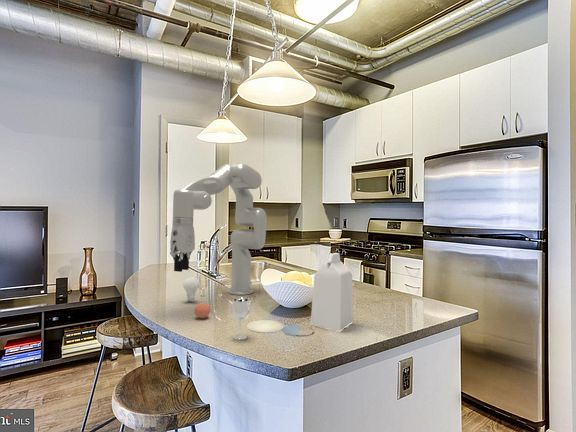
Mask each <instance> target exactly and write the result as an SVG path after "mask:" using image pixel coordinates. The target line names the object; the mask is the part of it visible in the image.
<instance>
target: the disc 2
mask: <svg viewBox="0 0 576 432" xmlns="http://www.w3.org/2000/svg"><path fill="white" fill-rule="evenodd" d="M297 325H298V324H290V325H286V326H284V328H283V329H282V330H281V331H282V333H284V334H285V333H286V334H285V335H288V334H289V336H292V335H294V337H297V336H296V335H297V333H298V334H299V332H298V330H301V327H302V326H301V327H300V326H297Z"/></svg>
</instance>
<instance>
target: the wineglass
mask: <svg viewBox="0 0 576 432" xmlns="http://www.w3.org/2000/svg"><path fill="white" fill-rule="evenodd" d="M250 310H251V309H250V300H249V299H248V298H246V297H245V298H244V297H237V298H234V299H233V301H232V305H231V315H232V318H233V319H235V320H237V321H238V327H239V328H238V329H239V330H238V334H235V335H233V336H232V339H233V340H238V341H239V340H240V341H242V340H246V339H247V337H248V336H247V335H245V334H242V330H241V329H242V325H243V322H242V321H243V320H245V319H247V318H248V317H249V315H250V312H251V311H250Z"/></svg>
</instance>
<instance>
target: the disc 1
mask: <svg viewBox="0 0 576 432" xmlns="http://www.w3.org/2000/svg"><path fill="white" fill-rule="evenodd" d="M284 327H285V326H284V324H283V323H281V322H279V321H276V320H270V319H262V320H261V319H260V320H259V319H258V320H254V321H250V322H248V323H247V325H246V328H247V329H248V330H250V331H252V332H256V333H264V334H267V333H268V334H269V333H276V332H279V331H282V329H283V328H284Z"/></svg>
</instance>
